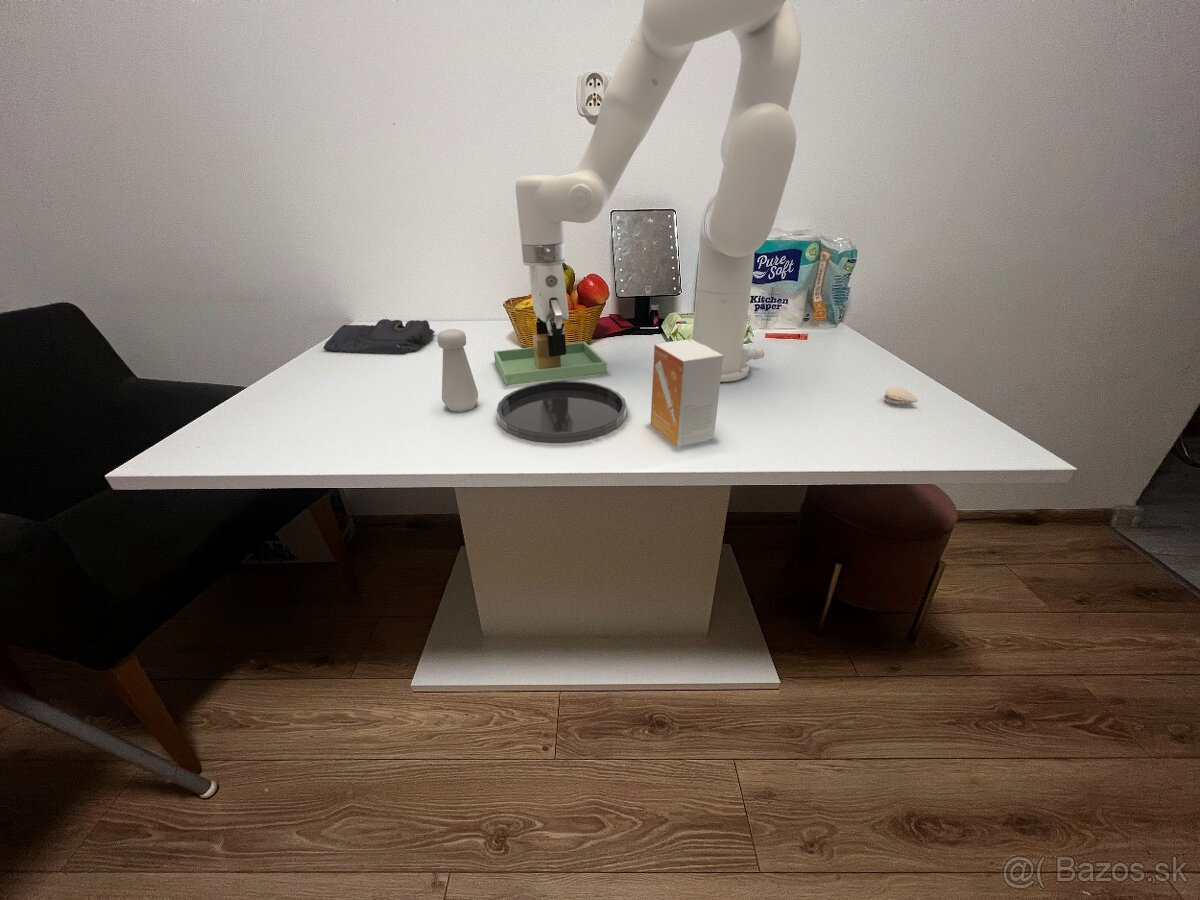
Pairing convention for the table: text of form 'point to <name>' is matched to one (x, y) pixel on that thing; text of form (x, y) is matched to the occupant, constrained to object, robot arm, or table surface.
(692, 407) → the small box
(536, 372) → the tray
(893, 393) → the beige pistachio shell
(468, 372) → the salt shaker
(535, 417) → the pan
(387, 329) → the dark crumpled cloth
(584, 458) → the table surface
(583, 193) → the robot arm
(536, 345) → the block
